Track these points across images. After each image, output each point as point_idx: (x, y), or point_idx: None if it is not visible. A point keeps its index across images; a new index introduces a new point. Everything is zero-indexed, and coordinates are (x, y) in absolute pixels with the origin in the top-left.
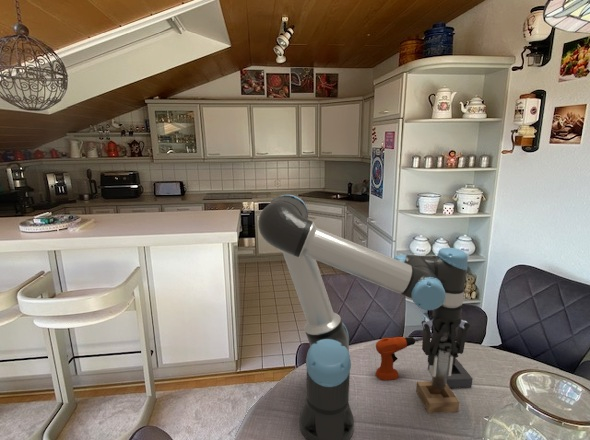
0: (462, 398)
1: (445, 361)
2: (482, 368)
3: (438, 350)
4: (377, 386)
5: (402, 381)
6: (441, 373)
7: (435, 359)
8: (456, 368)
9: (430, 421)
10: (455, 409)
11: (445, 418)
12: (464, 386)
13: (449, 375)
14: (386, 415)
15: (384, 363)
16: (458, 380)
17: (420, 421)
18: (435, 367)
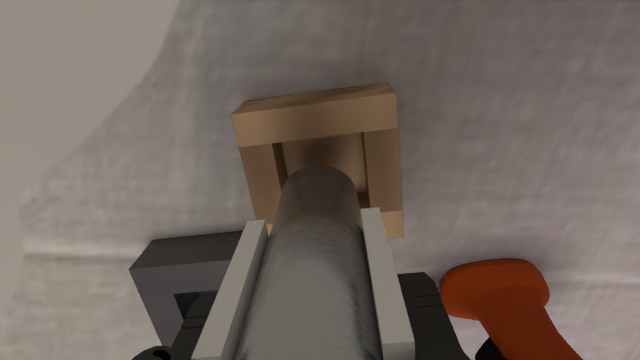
0: (204, 181)
1: (292, 299)
2: (87, 334)
3: None
4: (559, 224)
5: (433, 257)
6: (324, 219)
7: (402, 319)
8: None
9: (395, 29)
10: (256, 102)
11: (315, 56)
12: (178, 241)
13: (258, 221)
14: (602, 50)
15: (551, 328)
16: (196, 258)
17: (445, 25)
18: (379, 254)
